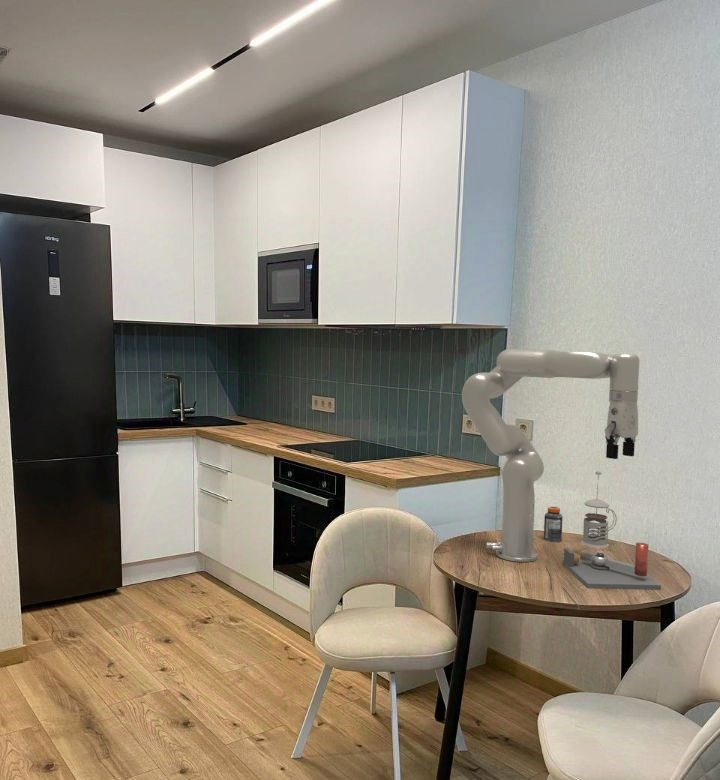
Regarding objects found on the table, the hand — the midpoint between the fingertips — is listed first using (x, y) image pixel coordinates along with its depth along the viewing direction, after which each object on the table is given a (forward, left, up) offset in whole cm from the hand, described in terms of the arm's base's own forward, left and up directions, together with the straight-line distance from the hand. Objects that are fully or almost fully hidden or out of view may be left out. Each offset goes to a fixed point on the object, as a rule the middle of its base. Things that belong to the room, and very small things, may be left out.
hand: (620, 457), depth 182 cm
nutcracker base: (-2, -1, -34) cm, 34 cm away
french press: (+8, +32, -34) cm, 48 cm away
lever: (0, 0, -32) cm, 32 cm away
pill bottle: (-6, +36, -34) cm, 50 cm away
